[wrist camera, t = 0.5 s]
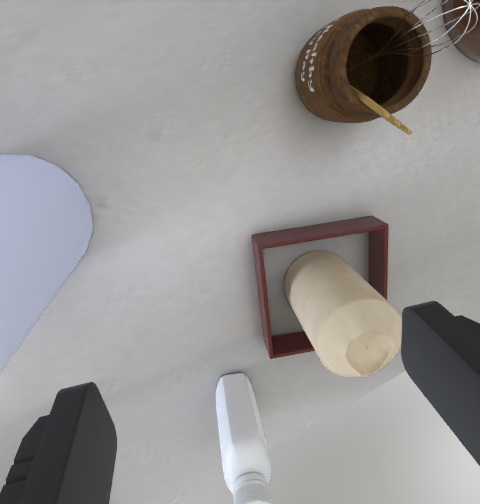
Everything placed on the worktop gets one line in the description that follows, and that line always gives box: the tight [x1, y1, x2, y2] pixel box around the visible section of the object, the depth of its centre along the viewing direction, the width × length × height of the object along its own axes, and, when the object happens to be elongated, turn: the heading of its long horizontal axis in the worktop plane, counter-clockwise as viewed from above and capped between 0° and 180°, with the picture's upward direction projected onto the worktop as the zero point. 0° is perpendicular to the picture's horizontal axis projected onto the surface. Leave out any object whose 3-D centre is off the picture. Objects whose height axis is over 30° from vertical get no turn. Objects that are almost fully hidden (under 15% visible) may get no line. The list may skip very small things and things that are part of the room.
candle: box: [284, 250, 402, 377], centre depth 26 cm, size 6×6×10 cm
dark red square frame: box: [252, 216, 388, 359], centre depth 30 cm, size 10×10×2 cm
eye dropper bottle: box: [215, 373, 273, 504], centre depth 28 cm, size 4×6×12 cm
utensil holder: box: [296, 0, 480, 135], centre depth 20 cm, size 6×6×12 cm
